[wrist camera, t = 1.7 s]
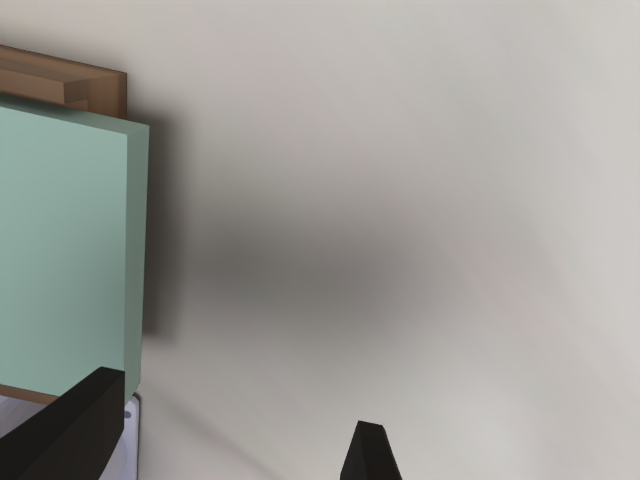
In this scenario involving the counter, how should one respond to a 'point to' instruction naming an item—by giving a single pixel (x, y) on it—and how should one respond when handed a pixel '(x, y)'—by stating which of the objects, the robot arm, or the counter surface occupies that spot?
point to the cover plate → (70, 245)
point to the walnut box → (64, 90)
